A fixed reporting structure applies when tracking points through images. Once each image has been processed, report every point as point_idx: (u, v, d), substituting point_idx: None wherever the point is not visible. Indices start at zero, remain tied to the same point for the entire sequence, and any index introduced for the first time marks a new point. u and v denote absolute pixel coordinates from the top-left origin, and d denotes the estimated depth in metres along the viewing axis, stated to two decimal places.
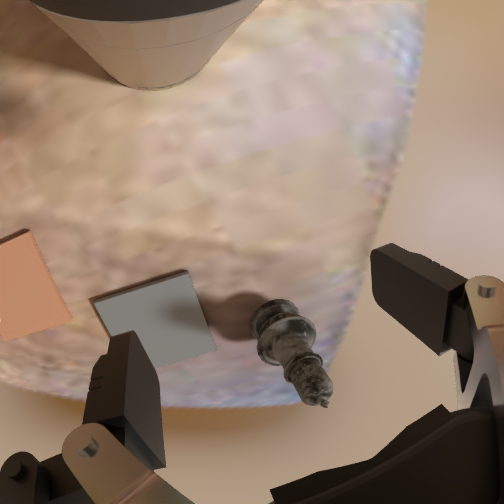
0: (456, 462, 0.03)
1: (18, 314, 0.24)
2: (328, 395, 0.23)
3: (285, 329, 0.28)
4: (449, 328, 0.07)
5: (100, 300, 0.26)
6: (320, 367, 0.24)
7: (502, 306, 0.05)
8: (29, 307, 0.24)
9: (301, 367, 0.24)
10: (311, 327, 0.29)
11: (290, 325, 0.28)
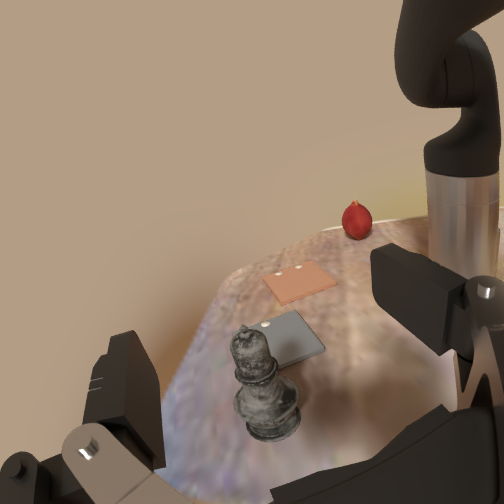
0: (456, 462, 0.03)
1: (282, 281, 0.51)
2: (247, 340, 0.23)
3: (286, 386, 0.27)
4: (449, 328, 0.07)
5: (297, 313, 0.42)
6: (267, 361, 0.23)
7: (502, 306, 0.05)
8: (288, 285, 0.49)
9: None
10: (284, 412, 0.24)
11: (290, 390, 0.26)
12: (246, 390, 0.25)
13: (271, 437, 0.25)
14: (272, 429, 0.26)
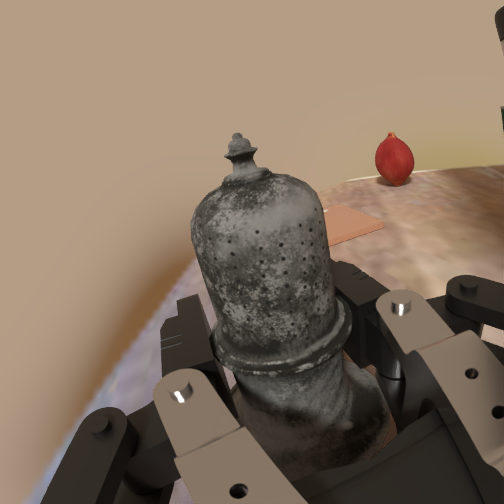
0: (456, 462, 0.03)
1: None
2: (255, 184, 0.06)
3: (354, 380, 0.10)
4: (366, 342, 0.08)
5: None
6: (326, 283, 0.07)
7: (410, 325, 0.06)
8: None
9: None
10: (359, 454, 0.07)
11: (365, 391, 0.09)
12: (247, 395, 0.08)
13: None
14: None
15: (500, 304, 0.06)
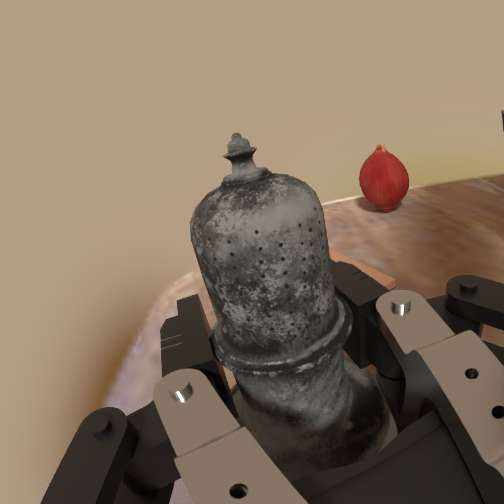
0: (456, 462, 0.03)
1: None
2: (254, 185, 0.06)
3: (355, 379, 0.10)
4: (366, 342, 0.08)
5: None
6: (326, 283, 0.07)
7: (410, 325, 0.06)
8: None
9: None
10: (359, 454, 0.07)
11: (366, 391, 0.09)
12: (247, 395, 0.08)
13: None
14: None
15: (500, 304, 0.06)
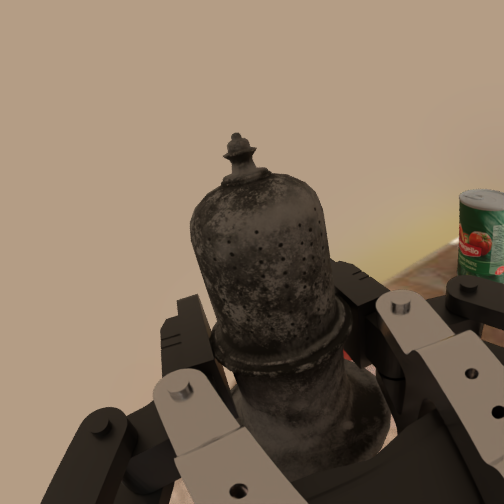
0: (456, 462, 0.03)
1: None
2: (254, 184, 0.06)
3: (355, 379, 0.10)
4: (366, 342, 0.08)
5: None
6: (326, 283, 0.07)
7: (410, 325, 0.06)
8: None
9: None
10: (359, 454, 0.07)
11: (366, 391, 0.09)
12: (247, 395, 0.08)
13: None
14: None
15: (500, 304, 0.06)
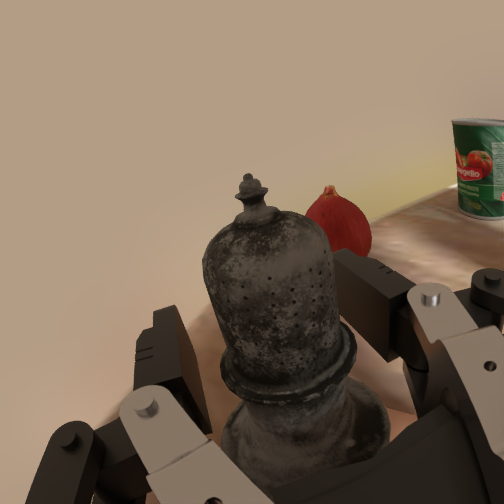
0: (456, 462, 0.03)
1: None
2: (266, 228, 0.06)
3: (357, 398, 0.10)
4: (395, 335, 0.08)
5: None
6: (333, 319, 0.07)
7: (443, 316, 0.06)
8: None
9: None
10: None
11: (367, 408, 0.09)
12: (256, 417, 0.08)
13: None
14: None
15: None
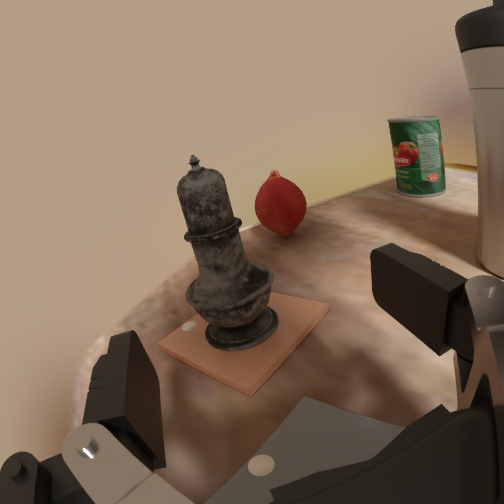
0: (456, 462, 0.03)
1: None
2: (197, 172, 0.18)
3: (256, 266, 0.21)
4: (449, 328, 0.07)
5: (315, 401, 0.15)
6: (224, 207, 0.18)
7: (502, 306, 0.05)
8: None
9: None
10: (250, 293, 0.19)
11: (261, 271, 0.21)
12: (198, 259, 0.19)
13: (236, 343, 0.20)
14: (238, 333, 0.21)
15: None
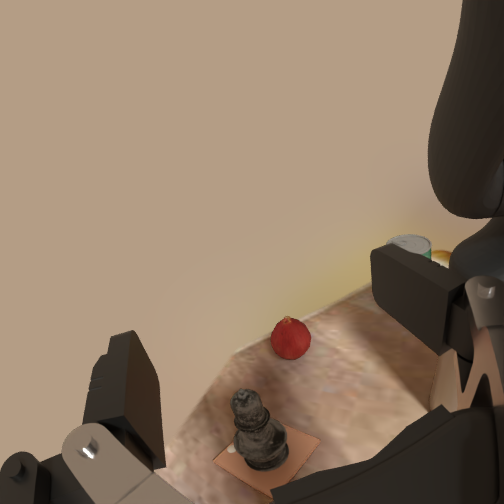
0: (456, 462, 0.03)
1: None
2: (244, 400, 0.27)
3: (277, 428, 0.30)
4: (449, 328, 0.07)
5: None
6: (260, 414, 0.27)
7: (502, 306, 0.05)
8: None
9: None
10: (274, 450, 0.28)
11: (279, 432, 0.30)
12: (243, 434, 0.29)
13: (264, 467, 0.29)
14: (265, 461, 0.30)
15: None
